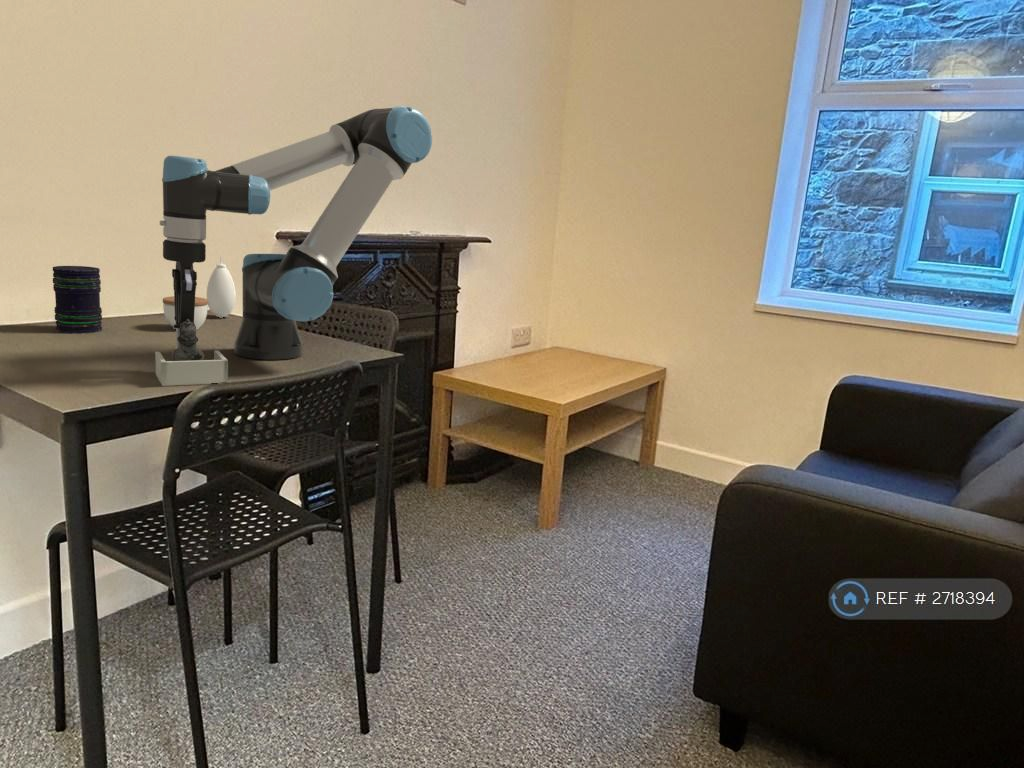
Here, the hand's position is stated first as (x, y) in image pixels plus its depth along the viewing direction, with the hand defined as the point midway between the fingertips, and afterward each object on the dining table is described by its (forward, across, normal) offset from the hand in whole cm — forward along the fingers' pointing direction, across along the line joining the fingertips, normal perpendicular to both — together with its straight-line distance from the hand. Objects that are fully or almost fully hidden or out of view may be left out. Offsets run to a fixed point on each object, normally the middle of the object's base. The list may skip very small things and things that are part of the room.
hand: (183, 359), depth 144 cm
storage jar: (+4, -48, -17) cm, 51 cm away
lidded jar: (+4, -49, +7) cm, 50 cm away
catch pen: (+3, +5, +1) cm, 6 cm away
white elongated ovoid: (+4, -66, +19) cm, 69 cm away
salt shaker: (+2, +2, 0) cm, 3 cm away
